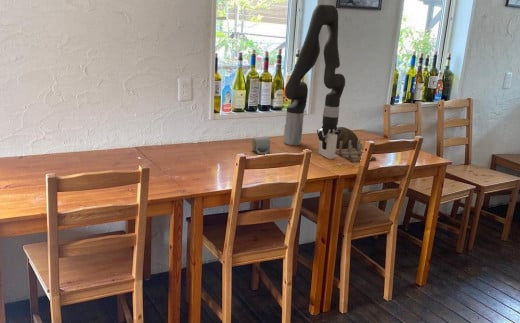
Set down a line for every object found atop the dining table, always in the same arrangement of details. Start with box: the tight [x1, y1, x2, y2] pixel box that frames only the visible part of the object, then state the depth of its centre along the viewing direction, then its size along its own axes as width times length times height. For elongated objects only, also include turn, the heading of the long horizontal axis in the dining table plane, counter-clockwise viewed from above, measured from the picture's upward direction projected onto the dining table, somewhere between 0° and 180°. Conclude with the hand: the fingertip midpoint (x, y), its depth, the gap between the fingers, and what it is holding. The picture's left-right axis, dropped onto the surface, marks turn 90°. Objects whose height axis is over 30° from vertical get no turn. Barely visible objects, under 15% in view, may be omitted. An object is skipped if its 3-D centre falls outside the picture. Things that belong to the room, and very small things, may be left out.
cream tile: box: [317, 133, 337, 160], centre depth 241 cm, size 10×3×12 cm, turn 28°
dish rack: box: [335, 139, 377, 164], centre depth 244 cm, size 18×14×7 cm
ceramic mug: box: [251, 135, 271, 155], centre depth 241 cm, size 11×8×8 cm
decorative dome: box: [336, 126, 359, 150], centre depth 265 cm, size 19×20×10 cm
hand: (327, 148), depth 241 cm, fingers closed on cream tile, 3 cm apart
